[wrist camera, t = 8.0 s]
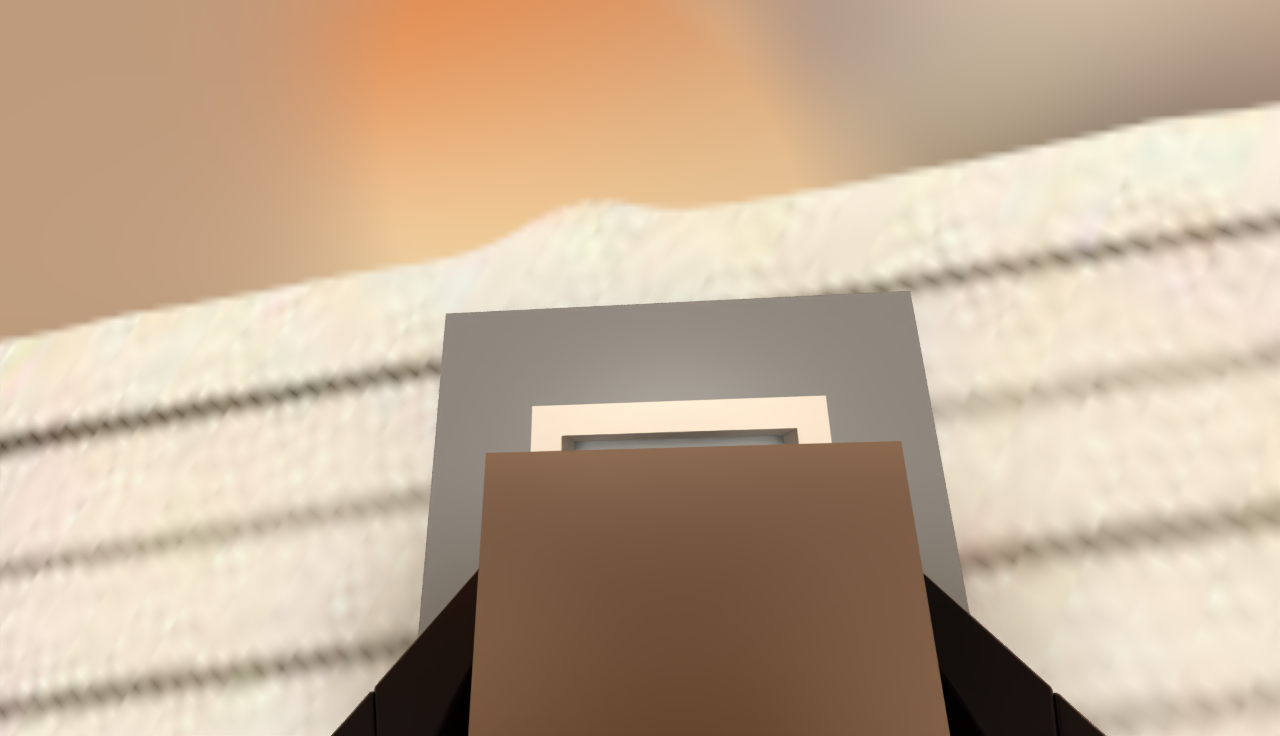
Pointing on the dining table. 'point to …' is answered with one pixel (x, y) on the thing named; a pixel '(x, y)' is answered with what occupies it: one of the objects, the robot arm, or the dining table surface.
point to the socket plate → (679, 400)
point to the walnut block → (703, 594)
